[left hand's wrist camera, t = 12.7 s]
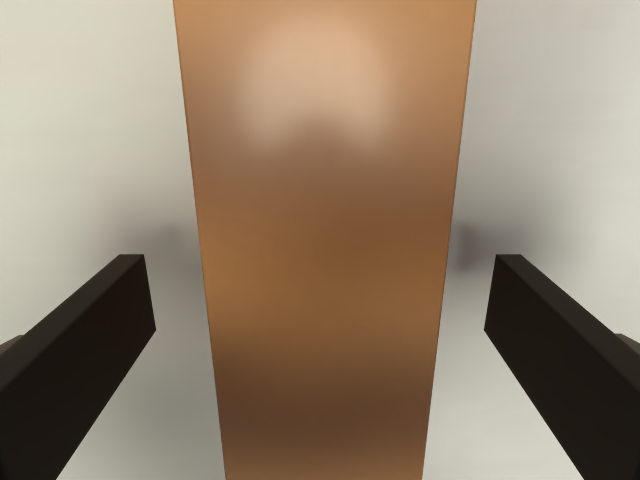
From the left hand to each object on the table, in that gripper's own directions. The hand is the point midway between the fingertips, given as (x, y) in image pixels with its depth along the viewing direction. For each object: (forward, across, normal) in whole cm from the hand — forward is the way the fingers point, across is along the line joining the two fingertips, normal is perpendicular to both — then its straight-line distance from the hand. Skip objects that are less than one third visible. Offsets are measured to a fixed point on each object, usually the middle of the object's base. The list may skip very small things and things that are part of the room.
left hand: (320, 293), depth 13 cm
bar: (+4, 0, -24) cm, 24 cm away
